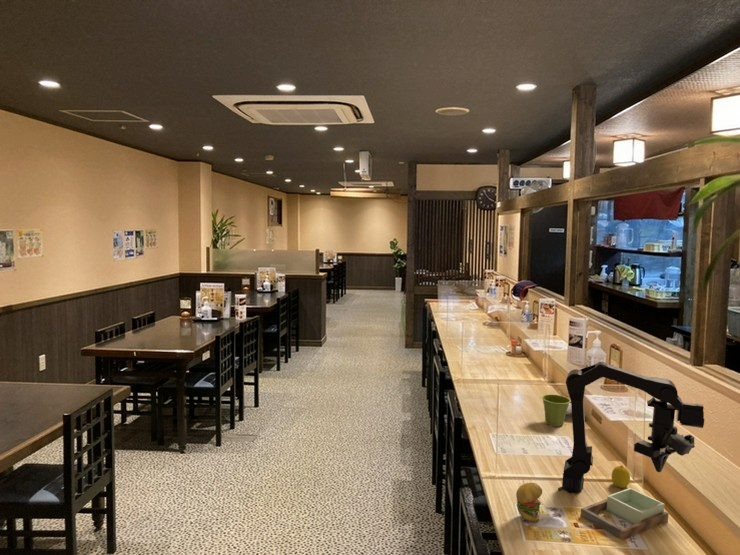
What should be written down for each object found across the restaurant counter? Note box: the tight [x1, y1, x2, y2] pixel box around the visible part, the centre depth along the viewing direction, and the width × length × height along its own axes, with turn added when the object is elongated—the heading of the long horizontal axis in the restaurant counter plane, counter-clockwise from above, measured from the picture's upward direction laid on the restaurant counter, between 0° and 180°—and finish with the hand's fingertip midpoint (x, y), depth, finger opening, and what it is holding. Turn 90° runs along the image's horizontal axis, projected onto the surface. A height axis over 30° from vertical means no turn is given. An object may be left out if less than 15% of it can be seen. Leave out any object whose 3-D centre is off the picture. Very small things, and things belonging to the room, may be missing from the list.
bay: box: [580, 498, 670, 541], centre depth 163 cm, size 21×14×4 cm, turn 121°
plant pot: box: [541, 393, 571, 428], centre depth 241 cm, size 12×12×11 cm
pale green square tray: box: [605, 487, 666, 525], centre depth 166 cm, size 11×11×4 cm
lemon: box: [611, 465, 631, 489], centre depth 184 cm, size 6×6×8 cm
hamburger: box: [515, 480, 543, 523], centre depth 163 cm, size 8×7×12 cm
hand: (658, 471), depth 170 cm, fingers closed
